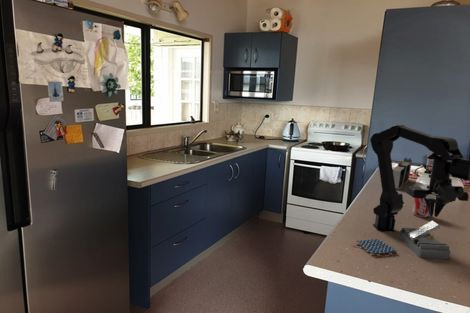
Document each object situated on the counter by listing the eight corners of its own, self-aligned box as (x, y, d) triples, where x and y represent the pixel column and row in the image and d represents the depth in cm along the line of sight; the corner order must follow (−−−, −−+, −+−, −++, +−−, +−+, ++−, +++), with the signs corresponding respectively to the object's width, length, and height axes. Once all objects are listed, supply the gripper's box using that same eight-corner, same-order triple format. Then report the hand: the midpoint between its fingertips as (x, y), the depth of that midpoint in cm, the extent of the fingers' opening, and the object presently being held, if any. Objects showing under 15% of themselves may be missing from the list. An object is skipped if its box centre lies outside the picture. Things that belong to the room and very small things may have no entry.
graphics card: (401, 178, 230) (404, 157, 227) (409, 180, 227) (412, 158, 224) (389, 189, 204) (392, 165, 201) (398, 191, 201) (401, 166, 198)
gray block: (413, 241, 124) (411, 239, 124) (408, 237, 128) (406, 234, 128) (440, 227, 123) (438, 224, 123) (434, 223, 127) (432, 220, 126)
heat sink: (418, 257, 119) (420, 244, 118) (398, 237, 134) (400, 226, 134) (448, 259, 119) (451, 246, 118) (425, 238, 134) (427, 227, 133)
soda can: (411, 216, 159) (415, 190, 157) (412, 211, 165) (415, 187, 163) (429, 219, 156) (433, 193, 153) (429, 214, 162) (433, 189, 160)
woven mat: (373, 259, 117) (374, 254, 116) (354, 245, 127) (354, 240, 126) (399, 256, 120) (400, 251, 119) (378, 243, 130) (379, 238, 129)
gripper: (424, 178, 113) (417, 223, 116) (483, 181, 113) (474, 226, 116) (409, 170, 124) (403, 212, 127) (462, 173, 124) (455, 214, 127)
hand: (433, 216), depth 124 cm, fingers closed
